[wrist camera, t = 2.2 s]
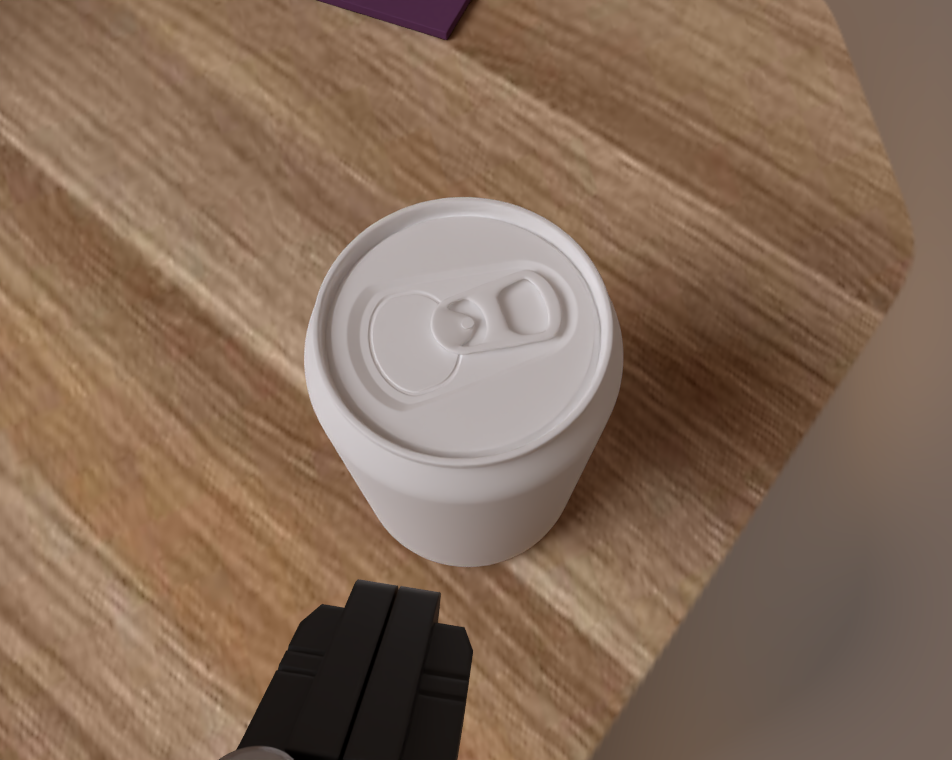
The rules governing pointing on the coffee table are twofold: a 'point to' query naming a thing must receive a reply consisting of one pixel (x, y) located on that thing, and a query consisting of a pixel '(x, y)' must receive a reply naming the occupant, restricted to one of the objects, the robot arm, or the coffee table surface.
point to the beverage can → (464, 373)
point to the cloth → (411, 13)
